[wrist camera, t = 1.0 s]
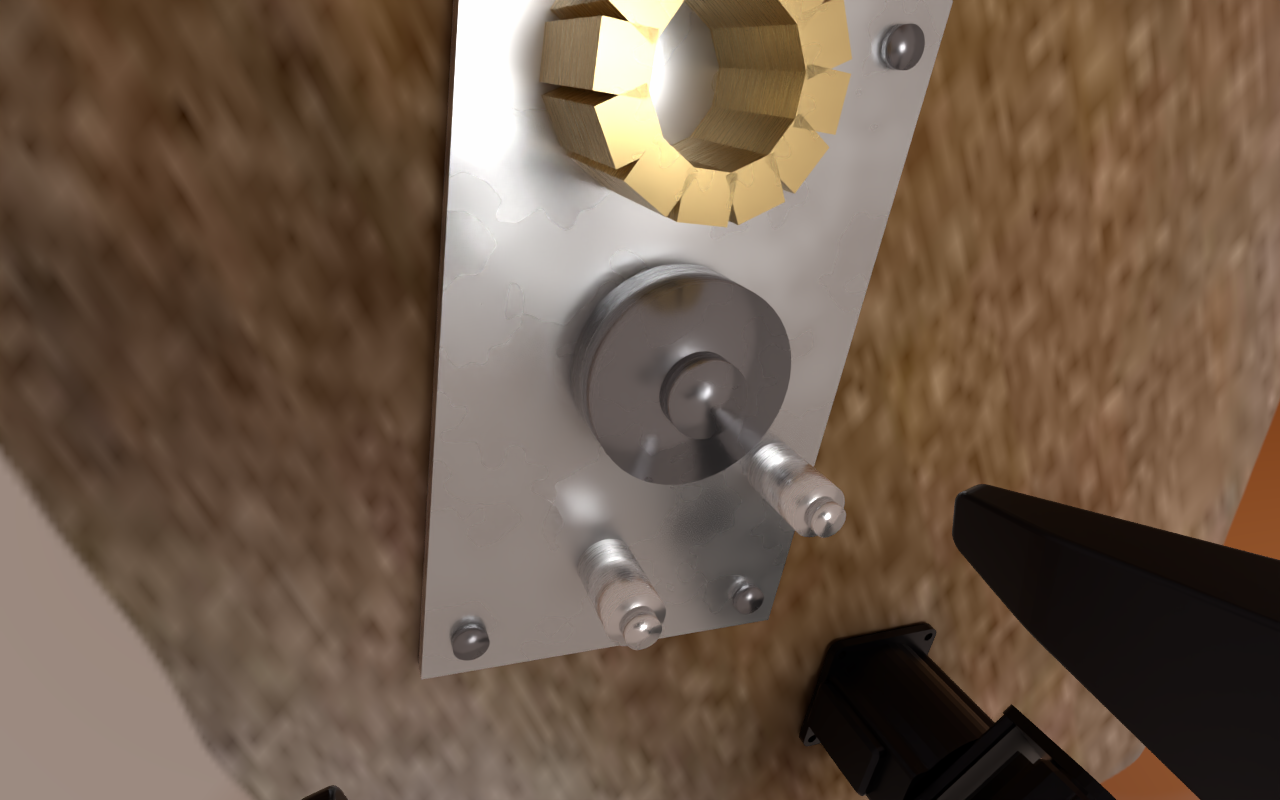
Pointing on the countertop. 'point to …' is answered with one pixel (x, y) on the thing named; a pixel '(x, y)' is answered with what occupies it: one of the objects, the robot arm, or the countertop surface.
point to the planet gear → (732, 128)
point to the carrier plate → (552, 282)
